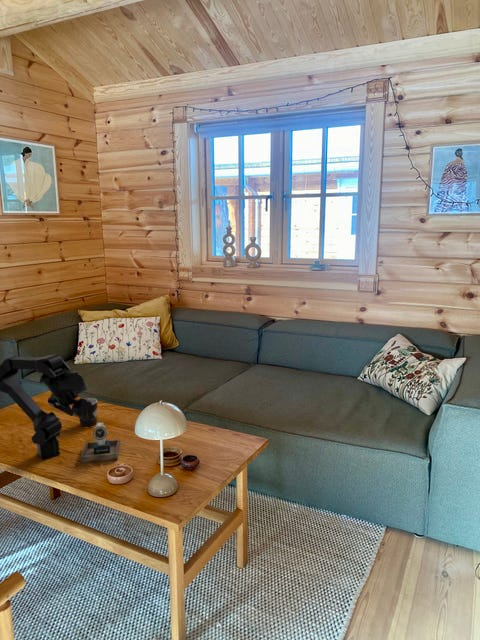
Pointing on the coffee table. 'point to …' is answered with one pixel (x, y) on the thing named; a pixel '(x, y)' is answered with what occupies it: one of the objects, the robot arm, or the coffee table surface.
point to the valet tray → (89, 455)
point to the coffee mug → (90, 414)
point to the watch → (101, 440)
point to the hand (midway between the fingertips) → (80, 417)
